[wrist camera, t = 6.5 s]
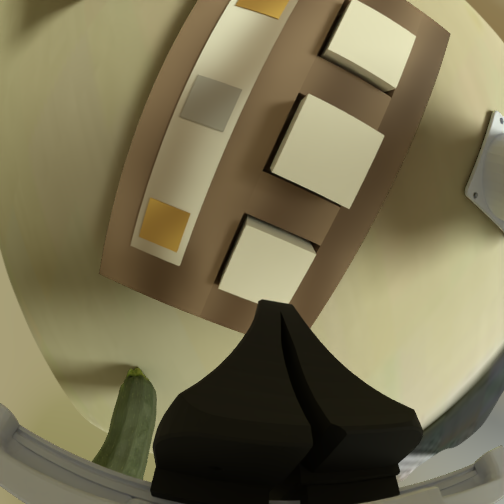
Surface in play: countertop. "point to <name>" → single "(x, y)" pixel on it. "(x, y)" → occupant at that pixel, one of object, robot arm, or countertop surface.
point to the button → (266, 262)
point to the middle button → (326, 151)
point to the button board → (253, 150)
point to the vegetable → (130, 427)
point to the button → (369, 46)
